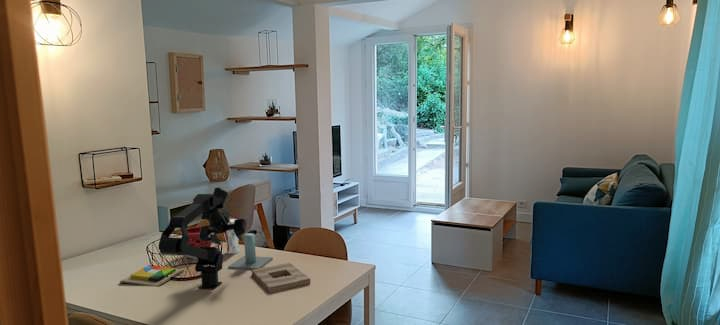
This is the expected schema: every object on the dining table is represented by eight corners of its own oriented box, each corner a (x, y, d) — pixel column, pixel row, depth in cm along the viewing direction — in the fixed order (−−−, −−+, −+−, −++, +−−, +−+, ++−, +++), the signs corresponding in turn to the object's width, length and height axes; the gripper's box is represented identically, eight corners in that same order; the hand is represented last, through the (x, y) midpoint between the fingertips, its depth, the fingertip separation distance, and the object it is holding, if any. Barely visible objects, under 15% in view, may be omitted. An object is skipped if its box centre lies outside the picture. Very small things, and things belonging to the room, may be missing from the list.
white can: (242, 249, 236) (240, 218, 234) (237, 254, 229) (235, 222, 227) (228, 249, 237) (226, 218, 235) (223, 254, 230) (220, 222, 228)
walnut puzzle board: (310, 283, 191) (310, 278, 190) (269, 292, 183) (269, 287, 183) (289, 267, 210) (289, 262, 210) (252, 274, 202) (251, 270, 202)
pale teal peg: (258, 261, 215) (256, 234, 214) (248, 264, 213) (246, 236, 211) (252, 259, 219) (250, 232, 217) (243, 262, 216) (241, 234, 214)
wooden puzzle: (161, 287, 194) (160, 278, 193) (118, 285, 198) (117, 276, 197) (185, 271, 210) (185, 263, 210) (145, 270, 214) (145, 262, 214)
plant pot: (208, 259, 224) (206, 232, 223) (179, 259, 225) (177, 233, 223) (217, 249, 237) (215, 225, 236) (190, 250, 238) (187, 226, 236)
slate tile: (258, 270, 207) (258, 268, 207) (228, 268, 211) (227, 266, 211) (272, 259, 221) (272, 257, 221) (243, 257, 224) (243, 255, 224)
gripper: (240, 198, 200) (254, 223, 211) (196, 207, 202) (213, 231, 213) (237, 219, 192) (251, 244, 202) (191, 228, 194) (208, 252, 205)
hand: (231, 242), depth 206 cm, fingers open, 9 cm apart
